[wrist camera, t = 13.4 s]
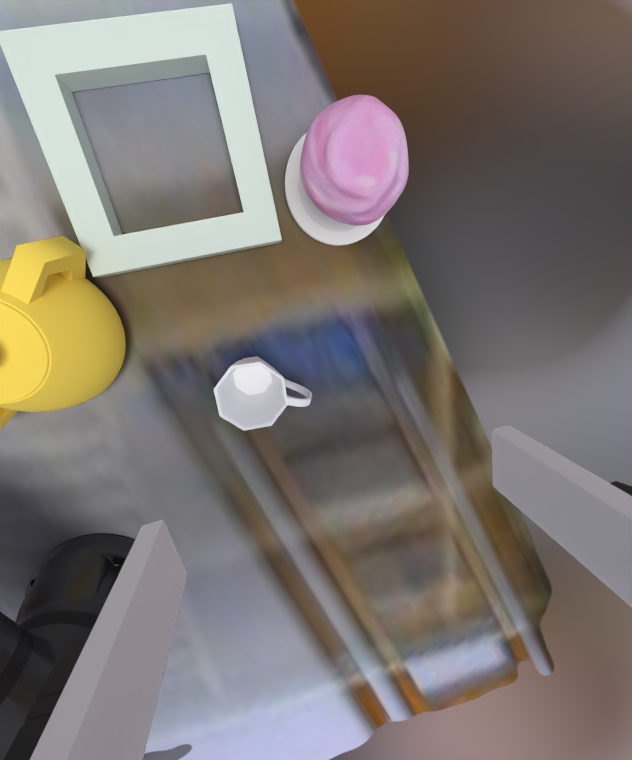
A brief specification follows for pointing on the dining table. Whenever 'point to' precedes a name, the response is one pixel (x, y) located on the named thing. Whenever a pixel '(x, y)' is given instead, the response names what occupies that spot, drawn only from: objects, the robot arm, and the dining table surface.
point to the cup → (255, 394)
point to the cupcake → (355, 160)
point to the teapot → (54, 330)
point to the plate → (310, 215)
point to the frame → (128, 66)
